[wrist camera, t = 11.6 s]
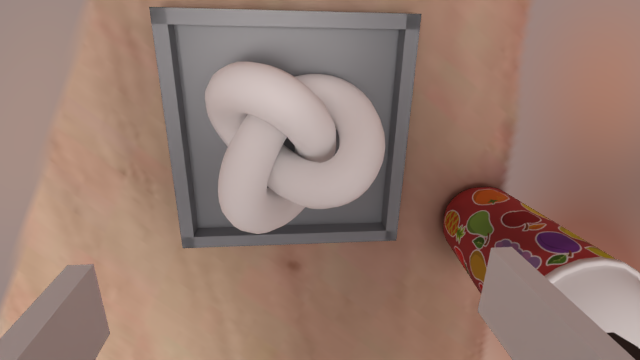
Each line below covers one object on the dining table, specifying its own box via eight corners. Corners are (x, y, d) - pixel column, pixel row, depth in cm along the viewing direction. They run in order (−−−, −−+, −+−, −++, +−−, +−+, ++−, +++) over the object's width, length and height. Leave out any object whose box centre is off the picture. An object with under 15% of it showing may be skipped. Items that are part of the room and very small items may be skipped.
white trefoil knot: (336, 214, 33) (354, 278, 24) (195, 185, 30) (164, 244, 22) (378, 87, 29) (417, 111, 20) (221, 42, 26) (194, 48, 18)
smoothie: (477, 264, 37) (668, 493, 19) (411, 230, 35) (557, 454, 17) (532, 197, 35) (812, 385, 17) (466, 157, 33) (706, 322, 14)
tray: (388, 226, 35) (396, 240, 32) (189, 232, 33) (182, 248, 31) (409, 15, 28) (421, 14, 26) (160, 8, 26) (149, 7, 24)
